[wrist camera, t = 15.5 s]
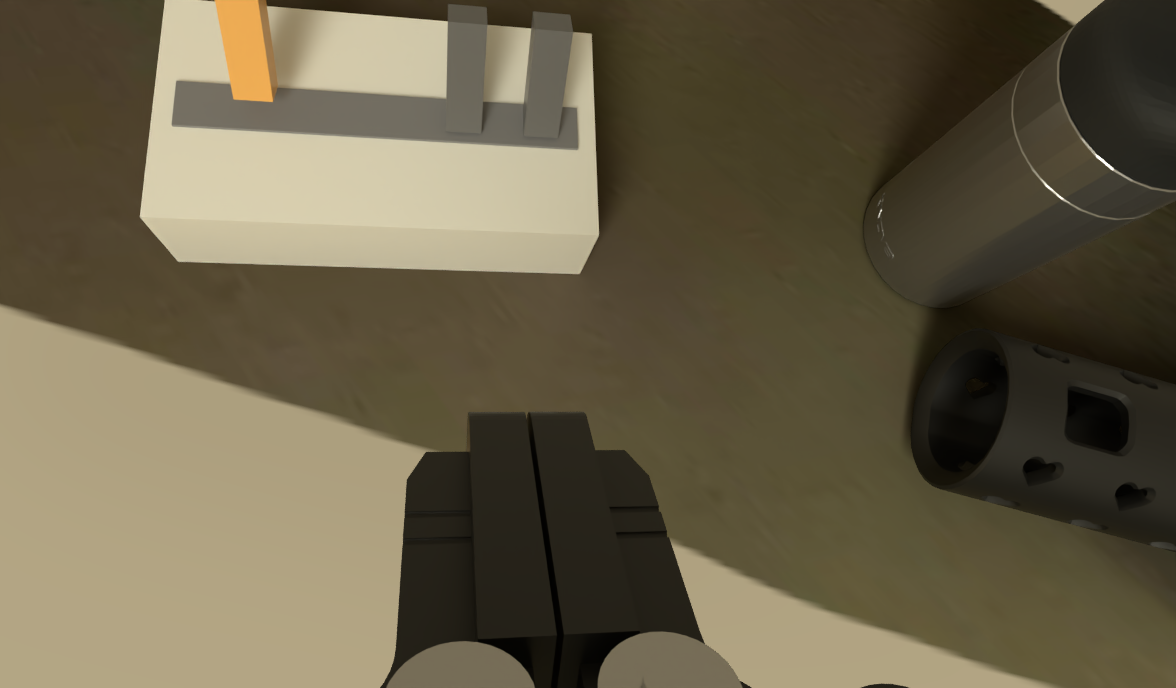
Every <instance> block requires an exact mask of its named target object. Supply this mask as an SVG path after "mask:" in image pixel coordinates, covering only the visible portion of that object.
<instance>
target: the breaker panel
mask: <svg viewBox="0 0 1176 688" xmlns="http://www.w3.org/2000/svg"><path fill="white" fill-rule="evenodd" d="M267 11H268V18H269V25H270V32H271V39H272V46H273V53H274V60H275V67H276V74H277V81H278V87H277V91H276V94H275V98H274V101H273V102H265V101H250V100H234V99H233V94H232V89H231V83H230V78H229V73H228V67H227V62H226V57H225V51H224V46H223V41H222V35H221V30H220V25H219V20H218V14H217V9H216V4H215V2H212V1H201V0H165V4H164V13H163V22H162V30H161V39H160V48H159V56H158V65H157V73H156V82H155V91H154V99H153V108H152V117H151V125H150V134H149V143H148V151H147V160H146V169H145V177H144V186H143V194H142V203H141V212H140V218H141V219H142V220H143V221H144V223H145V224H146V225H147V226H148V227H149V228H150V229H151V231H152V232H153V233H154V234H155V235H156V236H157V238H158V239H159V240H160V241H161V242H162V243H163V244H164V246H165V247H166V248H167V249H168V250H169V251H170V253H171V254H172V255H173V256H174V257H175V258H176V260H177V261H178V262H206V263H238V264H270V265H302V266H334V267H366V268H399V269H431V270H463V271H495V272H527V273H560V274H580V272H581V270H582V268H583V266H584V264H585V262H586V260H587V258H588V256H589V254H590V252H591V250H592V248H593V246H594V244H595V242H596V240H597V238H598V236H599V221H598V194H597V166H596V139H595V112H594V84H593V57H592V34H589V33H577V32H573V28H572V22H571V17H570V15H567V14H556V13H545V12H534V11H533V16H532V26H531V29H530V28H519V27H507V26H495V25H487V7H477V6H466V5H455V4H448V21H436V20H424V19H413V18H401V17H389V16H377V15H365V14H354V13H342V12H330V11H318V10H307V9H295V8H283V7H271V6H267Z"/></svg>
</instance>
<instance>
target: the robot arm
mask: <svg viewBox="0 0 1176 688" xmlns="http://www.w3.org/2000/svg"><path fill="white" fill-rule="evenodd" d="M1174 201H1176V0H1104V1H1103V2H1102V3H1101V4H1100V5H1098V6H1097V7H1096V8H1095V9H1094V10H1092V11H1091V12H1090V13H1089V14H1088V15H1086V16H1085V17H1084V18H1083V19H1082V20H1081V21H1079V22H1078V23H1077V24H1076V25H1075V26H1073V27H1072V28H1071V29H1070V30H1069V31H1067V32H1066V33H1065V34H1064V35H1063V36H1061V37H1060V38H1059V39H1058V40H1057V41H1055V42H1054V43H1053V44H1052V45H1051V46H1049V47H1048V48H1047V49H1046V50H1045V51H1044V52H1042V53H1041V54H1040V55H1039V56H1038V57H1036V58H1035V59H1034V60H1033V61H1032V62H1031V63H1030V64H1028V65H1027V66H1026V67H1025V68H1024V69H1022V70H1021V71H1020V72H1019V73H1018V74H1016V75H1015V76H1014V77H1013V78H1012V79H1010V80H1009V81H1008V82H1007V83H1006V84H1005V85H1003V86H1002V87H1001V88H1000V89H999V90H997V91H996V92H995V93H994V94H993V95H991V96H990V97H989V98H988V99H987V100H985V101H984V102H983V103H982V104H981V105H979V106H978V107H977V108H976V109H975V110H973V111H972V112H971V113H970V114H969V115H967V116H966V117H965V118H964V119H963V120H962V121H960V122H959V123H958V124H957V125H956V126H954V127H953V128H952V129H951V130H950V131H948V132H947V133H946V134H945V135H944V136H942V137H941V138H940V139H939V140H938V141H936V142H935V143H934V144H933V145H932V146H930V147H929V148H928V149H927V150H926V151H925V152H923V153H922V154H921V155H920V156H918V157H917V158H916V159H915V160H914V161H912V162H911V163H910V164H909V165H908V166H906V167H905V168H904V169H903V170H902V171H900V172H899V173H898V174H897V175H896V176H894V177H893V178H892V179H891V180H890V181H888V182H887V183H886V184H885V185H884V186H883V187H881V188H880V189H879V190H878V192H877V193H876V194H875V195H874V196H873V198H872V199H871V201H870V204H869V206H868V208H867V210H866V215H865V219H864V240H865V244H866V248H867V252H868V254H869V257H870V259H871V261H872V264H873V266H874V267H875V269H876V270H877V272H878V273H879V274H880V276H881V277H882V279H883V280H884V281H885V282H886V283H887V284H888V285H889V286H890V287H891V288H892V289H893V290H895V291H896V292H897V293H899V294H900V295H902V296H903V297H905V298H906V299H908V300H911V301H913V302H915V303H917V304H920V305H924V306H928V307H933V308H949V307H953V306H958V305H961V304H963V303H965V302H968V301H970V300H972V299H974V298H976V297H978V296H980V295H982V294H984V293H986V292H988V291H991V290H993V289H995V288H997V287H1000V286H1002V285H1004V284H1006V283H1008V282H1010V281H1012V280H1014V279H1016V278H1018V277H1020V276H1022V275H1024V274H1026V273H1028V272H1031V271H1033V270H1035V269H1037V268H1039V267H1041V266H1043V265H1045V264H1047V263H1049V262H1051V261H1053V260H1055V259H1057V258H1059V257H1061V256H1063V255H1065V254H1068V253H1070V252H1072V251H1074V250H1076V249H1078V248H1080V247H1082V246H1084V245H1086V244H1088V243H1090V242H1092V241H1094V240H1096V239H1098V238H1100V237H1103V236H1105V235H1107V234H1108V233H1110V232H1113V231H1115V230H1117V229H1119V228H1121V227H1123V226H1125V225H1127V224H1129V223H1131V222H1133V221H1135V220H1137V219H1139V218H1141V217H1143V216H1145V215H1148V214H1149V213H1151V212H1153V211H1155V210H1157V209H1159V208H1161V207H1163V206H1165V205H1167V204H1169V203H1171V202H1174ZM380 688H751V687H750V686H748V685H746V684H744V683H743V682H741V681H739V679H738V677H737V675H736V674H735V672H734V670H733V669H732V668H731V666H730V665H729V664H728V663H727V662H726V661H725V660H724V659H723V658H722V657H721V656H720V655H719V654H718V653H717V652H716V651H714V650H713V649H711V648H710V647H709V646H707V645H705V643H704V641H703V639H702V636H701V633H700V631H699V628H698V625H697V621H696V619H695V616H694V612H693V609H692V606H691V603H690V600H689V597H688V594H687V591H686V588H685V585H684V582H683V579H682V576H681V573H680V570H679V566H678V564H677V560H676V557H675V554H674V551H673V548H672V545H671V542H670V539H669V537H667V530H666V527H665V524H664V521H663V518H662V514H661V512H659V505H658V502H657V499H656V496H655V493H654V490H653V487H652V484H651V481H650V478H649V475H648V474H647V473H646V472H645V471H644V470H643V469H642V468H641V467H640V466H639V465H638V464H637V463H636V462H635V461H634V460H633V458H632V457H631V456H630V455H629V454H628V453H627V452H626V451H625V450H595V448H594V444H593V440H592V436H591V432H590V428H589V424H588V420H587V417H586V414H585V413H584V412H528V415H527V420H526V415H525V412H468V421H467V446H466V452H426V453H425V454H424V456H423V457H422V459H421V460H420V461H419V463H418V464H417V466H416V467H415V469H414V470H413V472H412V473H411V475H410V476H409V477H408V479H407V487H406V503H405V518H404V532H403V548H402V563H401V579H400V595H399V609H398V626H397V640H396V651H395V657H394V662H393V664H392V667H391V670H390V672H389V674H388V676H387V678H386V680H385V682H384V683H383V685H382V686H381V687H380ZM862 688H908V687H904V686H899V685H894V684H874V685H868V686H865V687H862Z"/></svg>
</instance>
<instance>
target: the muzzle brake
mask: <svg viewBox="0 0 1176 688" xmlns="http://www.w3.org/2000/svg"><path fill="white" fill-rule="evenodd" d="M971 378H977V379H978V380H980V381H982V382H983V383H985V382H989V384H988V385H987V386H986V387H984V388H982V389H980V390H977V391H975V392H972V393H970V394H969V392H968V390H967V388H966V385H965V384H966V382H967V381H968V380H969V379H971ZM1121 425H1122V432H1121V433H1120V431H1119V428H1120V426H1121ZM911 448H912V452H913V457H914V460H915V463H916V465H917V468H918V470H919V472H920V474H921V475H922V476H923V478H924V479H925V480H926V481H927V482H928V483H929V484H931V485H932V486H934V487H937V488H939V489H942V490H946V491H949V492H953V493H957V494H960V495H964V496H968V497H972V498H975V499H979V500H983V501H987V502H990V503H994V504H998V505H1002V506H1005V507H1009V508H1013V509H1016V510H1020V511H1024V512H1028V513H1031V514H1035V515H1039V516H1043V517H1046V518H1050V519H1054V520H1058V521H1061V522H1065V523H1069V524H1073V525H1076V526H1080V527H1084V528H1087V529H1091V530H1095V531H1099V532H1102V533H1106V534H1110V535H1114V536H1117V537H1121V538H1125V539H1129V540H1132V541H1136V542H1140V543H1144V544H1147V545H1152V546H1155V547H1158V548H1162V549H1166V550H1170V551H1173V552H1176V385H1175V384H1172V383H1169V382H1165V381H1162V380H1158V379H1155V378H1151V377H1148V376H1145V375H1141V374H1138V373H1134V372H1131V371H1128V370H1124V369H1121V368H1117V367H1114V366H1111V365H1107V364H1104V363H1100V362H1097V361H1093V360H1090V359H1087V358H1083V357H1080V356H1076V355H1073V354H1070V353H1066V352H1063V351H1059V350H1056V349H1053V348H1049V347H1046V346H1042V345H1039V344H1035V343H1032V342H1029V341H1025V340H1022V339H1018V338H1015V337H1012V336H1008V335H1005V334H1001V333H998V332H995V331H991V330H988V329H977V328H975V329H972V330H968V331H965V332H963V333H962V334H960V335H958V336H956V337H955V338H954V339H953V340H951V341H950V342H949V343H948V344H947V345H946V346H945V347H944V348H943V349H942V350H941V351H940V352H939V353H938V354H937V356H936V357H935V359H934V360H933V362H932V363H931V365H930V366H929V368H928V370H927V372H926V374H925V376H924V377H923V380H922V382H921V385H920V387H919V390H918V393H917V396H916V400H915V403H914V409H913V418H912V427H911Z"/></svg>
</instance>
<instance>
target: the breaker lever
mask: <svg viewBox="0 0 1176 688" xmlns="http://www.w3.org/2000/svg"><path fill="white" fill-rule="evenodd" d="M215 4H216V9H217V14H218V20H219V25H220V30H221V35H222V41H223V46H224V51H225V57H226V62H227V67H228V73H229V78H230V83H231V89H232V94H233V99H234V100H250V101H265V102H273V101H274V98H275V94H276V91H277V87H278V81H277V74H276V67H275V60H274V53H273V46H272V39H271V32H270V25H269V18H268V11H267V4H266V0H215Z"/></svg>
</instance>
